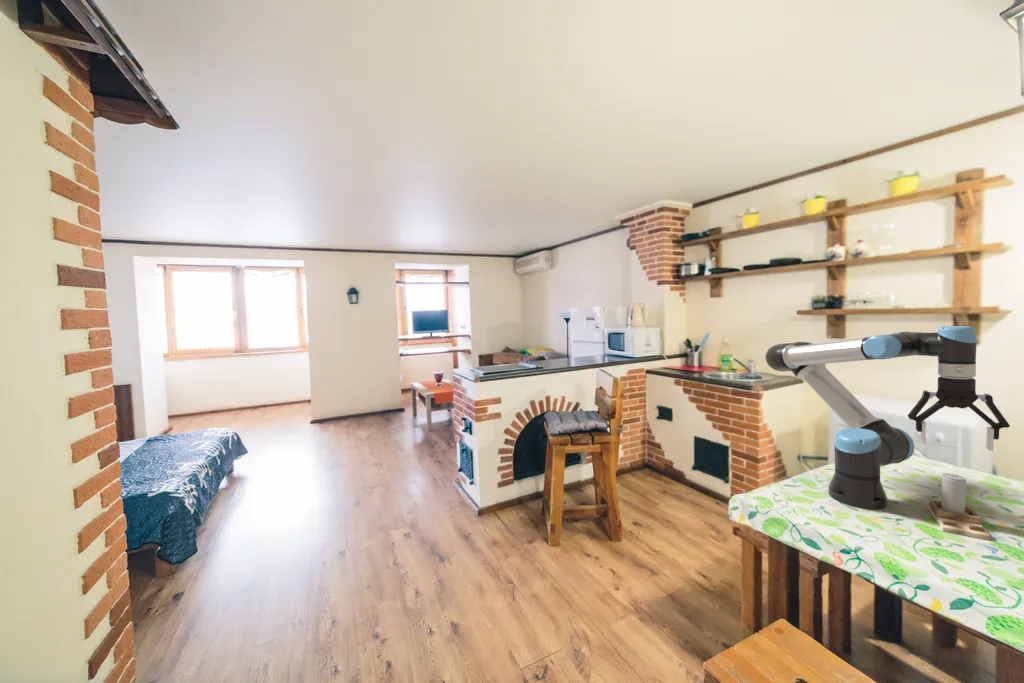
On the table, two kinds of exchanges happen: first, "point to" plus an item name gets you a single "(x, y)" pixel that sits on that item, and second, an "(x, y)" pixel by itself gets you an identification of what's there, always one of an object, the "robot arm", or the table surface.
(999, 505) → the table surface
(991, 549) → the table surface
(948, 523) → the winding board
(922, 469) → the table surface
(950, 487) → the beverage can
